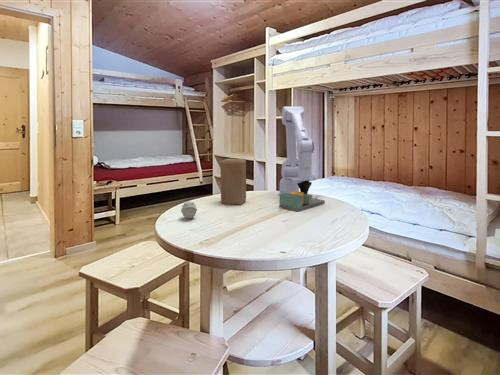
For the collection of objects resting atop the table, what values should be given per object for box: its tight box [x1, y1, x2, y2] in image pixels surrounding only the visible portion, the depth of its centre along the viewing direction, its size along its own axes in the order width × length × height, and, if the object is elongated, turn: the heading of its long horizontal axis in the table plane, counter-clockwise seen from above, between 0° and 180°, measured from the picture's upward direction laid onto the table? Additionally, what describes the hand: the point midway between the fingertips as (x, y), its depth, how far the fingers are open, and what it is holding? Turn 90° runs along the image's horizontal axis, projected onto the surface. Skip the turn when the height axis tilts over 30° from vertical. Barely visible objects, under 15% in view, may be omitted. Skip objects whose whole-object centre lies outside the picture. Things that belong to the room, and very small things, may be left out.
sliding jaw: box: [304, 193, 319, 205], centre depth 150 cm, size 10×7×4 cm
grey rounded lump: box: [180, 200, 198, 219], centre depth 129 cm, size 6×7×7 cm
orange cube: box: [289, 191, 304, 204], centre depth 146 cm, size 4×5×5 cm
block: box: [219, 158, 247, 206], centre depth 154 cm, size 10×10×20 cm
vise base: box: [278, 193, 326, 212], centre depth 149 cm, size 10×20×6 cm, turn 134°
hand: (303, 197), depth 150 cm, fingers closed
